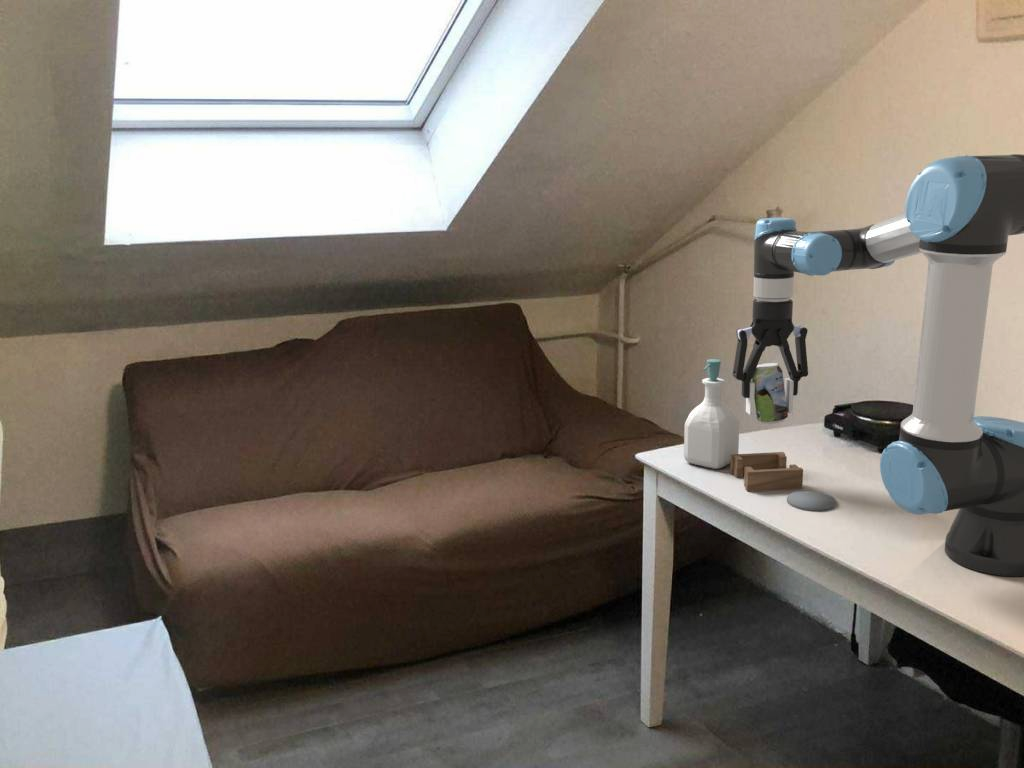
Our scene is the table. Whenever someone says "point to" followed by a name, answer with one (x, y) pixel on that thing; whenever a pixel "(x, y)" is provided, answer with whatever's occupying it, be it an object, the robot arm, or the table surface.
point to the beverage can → (769, 393)
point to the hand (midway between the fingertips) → (768, 412)
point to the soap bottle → (711, 426)
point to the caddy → (766, 471)
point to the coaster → (811, 501)
